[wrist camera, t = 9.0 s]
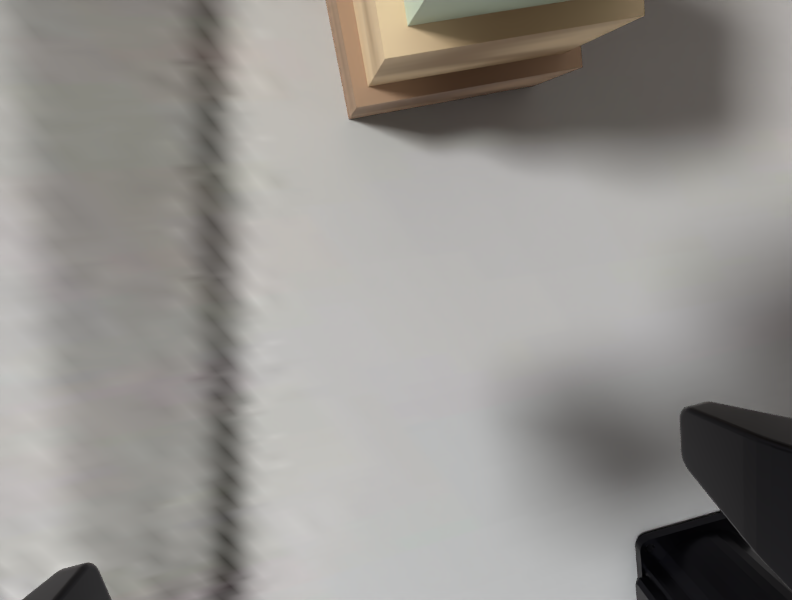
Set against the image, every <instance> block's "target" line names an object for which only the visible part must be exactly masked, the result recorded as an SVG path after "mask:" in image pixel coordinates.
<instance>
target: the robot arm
mask: <svg viewBox="0 0 792 600" xmlns="http://www.w3.org/2000/svg"><path fill="white" fill-rule="evenodd" d="M680 433H681V453H682V458H683V461H684V463H685V465H686V467H687V468H688V470H689V471H690V473H691V474H692V475H693V476H694V478H695V479H696V480H697V481H698V483H699V484H700V485H701V486H702V487H703V489H704V490H705V491H706V492H707V494H708V495H709V496H710V497H711V499H712V500H713V501H714V502H715V504H716V505H717V506H718V507H719V509H720V510H721V511H722V512H721V513H717V514H714V515H710V516H707V517H703V518H700V519H696V520H692V521H689V522H685V523H682V524H678V525H675V526H671V527H667V528H664V529H660V530H657V531H653V532H650V533H646V534H643V535H641V536H640V537H639V538H638V539H637V540H636V544H635V548H636V561H637V574H638V578H637V581H636V595H637V600H792V418H788V417H783V416H778V415H773V414H768V413H763V412H758V411H753V410H748V409H743V408H739V407H734V406H729V405H724V404H719V403H714V402H703V403H699V404H695V405H691V406H688V407H685V408H684V409H683V410H682V411H681V414H680ZM22 600H111V597H110V595H109V593H108V590H107V588H106V586H105V583H104V581H103V579H102V577H101V574H100V572H99V570H98V568H97V567H96V566H95V565H94V564H92V563H84V564H80V565H76V566H72V567H68V568H64V569H62V570H60V571H58V572H56V573H55V574H54V575H53V576H51V577H50V578H49V579H48V580H46V581H45V582H44V583H43V584H41V585H40V586H39V587H37V588H36V589H35V590H34V591H32V592H31V593H30V594H29V595H27V596H26V597H25V598H24V599H22Z"/></svg>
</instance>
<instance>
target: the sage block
mask: <svg viewBox="0 0 792 600" xmlns="http://www.w3.org/2000/svg"><path fill="white" fill-rule="evenodd" d="M564 1H570V0H404V5H405V12H406V19H407V25H408V26H412V25H418V24H425V23H431V22H437V21H444V20H450V19H456V18H463V17H469V16H475V15H482V14H488V13H494V12H501V11H507V10H514V9H520V8H526V7H533V6H539V5H545V4H552V3H558V2H564Z"/></svg>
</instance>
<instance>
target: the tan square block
mask: <svg viewBox="0 0 792 600" xmlns="http://www.w3.org/2000/svg"><path fill="white" fill-rule="evenodd" d="M326 4H327V10H328V15H329V20H330V25H331V30H332V35H333V40H334V45H335V51H336V56H337V61H338V66H339V71H340V76H341V81H342V86H343V91H344V97H345V102H346V107H347V112H348V117H349V119H354V118H359V117H365V116H370V115H376V114H381V113H387V112H392V111H398V110H403V109H409V108H414V107H420V106H426V105H431V104H437V103H442V102H448V101H453V100H459V99H464V98H470V97H475V96H481V95H486V94H492V93H497V92H503V91H508V90H514V89H520V88H525V87H531V86H534V85H537V84H540V83H542V82H545V81H548V80H550V79H553V78H555V77H558V76H561V75H563V74H566V73H569V72H571V71H574V70H576V69H579V68H582V55H581V46H579V47H576V48H574V49H572V50H570V51H568V52H566V53H563V54H557V55H551V56H545V57H540V58H534V59H528V60H522V61H516V62H510V63H504V64H498V65H493V66H487V67H481V68H475V69H469V70H463V71H457V72H451V73H446V74H440V75H434V76H428V77H422V78H416V79H410V80H404V81H398V82H393V83H387V84H381V85H375V86H369V87H368V84H367V78H366V72H365V67H364V61H363V56H362V50H361V44H360V39H359V33H358V28H357V22H356V16H355V11H354V5H353V0H326Z"/></svg>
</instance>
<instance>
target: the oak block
mask: <svg viewBox="0 0 792 600" xmlns="http://www.w3.org/2000/svg"><path fill="white" fill-rule="evenodd" d="M353 5H354V11H355V16H356V22H357V28H358V33H359V39H360V44H361V50H362V56H363V61H364V67H365V72H366V78H367V84H368V87H369V86H375V85H381V84H387V83H393V82H398V81H404V80H410V79H416V78H422V77H428V76H434V75H440V74H446V73H451V72H457V71H463V70H469V69H475V68H481V67H487V66H493V65H498V64H504V63H510V62H516V61H522V60H528V59H534V58H540V57H545V56H551V55H557V54H563V53H566V52H568V51H570V50H572V49H574V48H576V47H579V46H581V45H583V44H585V43H587V42H589V41H591V40H594V39H596V38H598V37H600V36H602V35H604V34H607V33H609V32H611V31H613V30H615V29H617V28H619V27H622V26H624V25H626V24H628V23H630V22H632V21H634V20H637V19H639V18H641V17H643V16H645V11H644V0H570V1H564V2H558V3H552V4H545V5H539V6H533V7H526V8H520V9H514V10H507V11H501V12H494V13H488V14H482V15H475V16H469V17H463V18H456V19H450V20H444V21H437V22H431V23H425V24H418V25H412V26H408V25H407V19H406V12H405V5H404V0H353Z"/></svg>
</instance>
